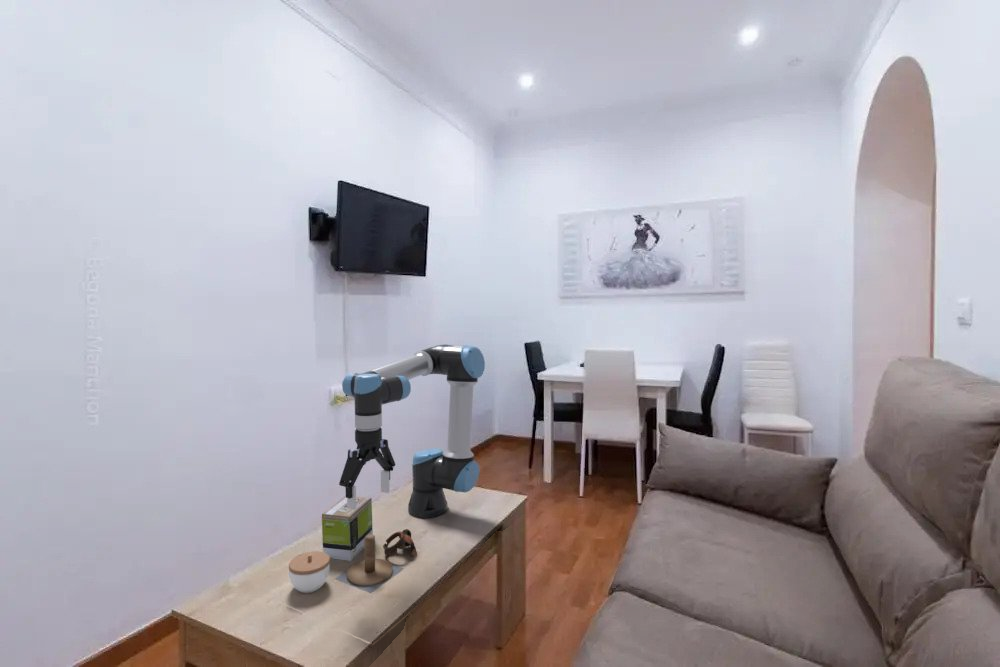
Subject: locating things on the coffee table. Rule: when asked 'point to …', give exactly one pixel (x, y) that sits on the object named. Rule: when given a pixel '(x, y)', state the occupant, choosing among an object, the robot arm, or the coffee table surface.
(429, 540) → the coffee table surface
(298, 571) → the lidded jar
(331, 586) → the coffee table surface
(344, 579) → the mat
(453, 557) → the coffee table surface
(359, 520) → the tea box
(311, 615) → the coffee table surface
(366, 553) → the tan wooden handled piece
